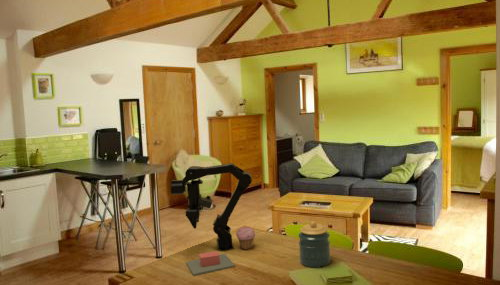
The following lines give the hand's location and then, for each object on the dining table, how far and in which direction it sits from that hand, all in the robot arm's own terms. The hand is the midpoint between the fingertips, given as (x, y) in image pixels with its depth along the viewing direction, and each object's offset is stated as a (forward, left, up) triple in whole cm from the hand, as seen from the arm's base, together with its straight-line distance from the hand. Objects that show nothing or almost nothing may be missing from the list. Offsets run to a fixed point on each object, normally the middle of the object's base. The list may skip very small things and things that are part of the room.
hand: (196, 225), depth 195 cm
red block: (0, +21, -11) cm, 23 cm away
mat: (0, +21, -12) cm, 24 cm away
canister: (-41, +40, -12) cm, 58 cm away
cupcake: (-21, +10, -12) cm, 26 cm away
